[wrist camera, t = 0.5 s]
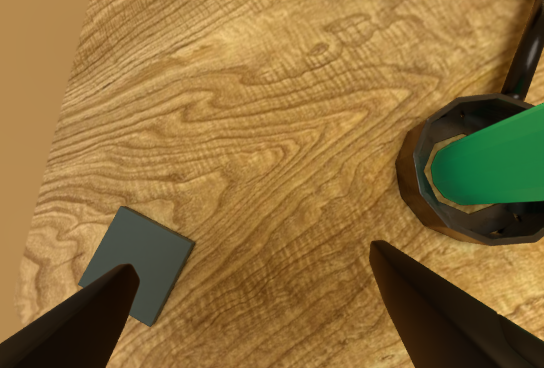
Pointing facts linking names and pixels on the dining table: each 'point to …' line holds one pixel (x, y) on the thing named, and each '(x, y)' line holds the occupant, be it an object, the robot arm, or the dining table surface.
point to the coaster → (141, 259)
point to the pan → (476, 116)
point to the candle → (495, 162)
